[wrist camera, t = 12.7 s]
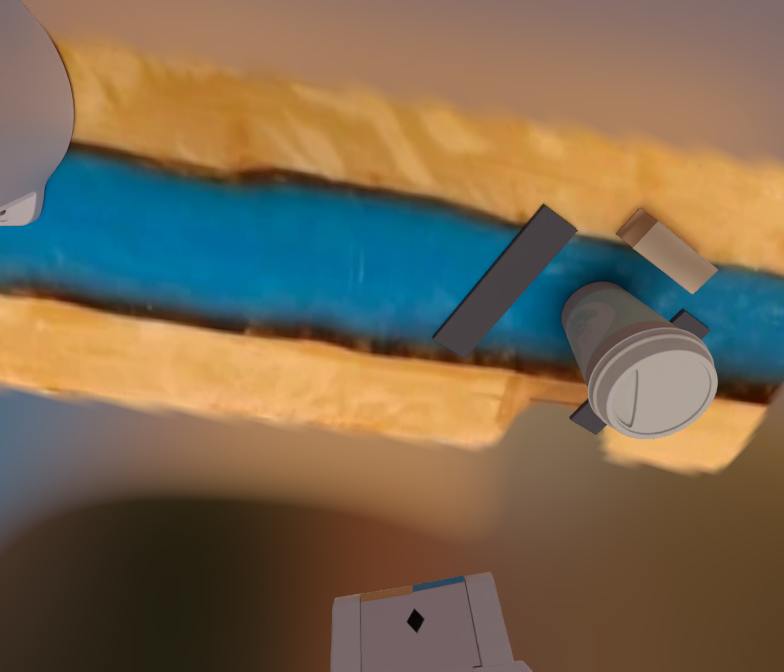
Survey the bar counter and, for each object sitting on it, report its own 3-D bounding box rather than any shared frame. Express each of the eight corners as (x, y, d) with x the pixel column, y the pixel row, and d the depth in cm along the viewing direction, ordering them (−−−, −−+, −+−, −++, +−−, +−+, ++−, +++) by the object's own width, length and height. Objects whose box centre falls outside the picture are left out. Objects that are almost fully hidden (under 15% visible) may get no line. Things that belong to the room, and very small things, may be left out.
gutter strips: (594, 432, 54) (595, 434, 54) (432, 337, 48) (433, 339, 47) (707, 328, 49) (710, 330, 49) (543, 204, 42) (545, 205, 42)
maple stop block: (673, 278, 46) (692, 294, 44) (616, 233, 44) (632, 248, 41) (697, 254, 45) (718, 269, 43) (640, 207, 43) (658, 220, 40)
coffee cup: (580, 250, 44) (650, 325, 34) (665, 287, 47) (754, 367, 36) (526, 336, 48) (573, 426, 38) (606, 365, 50) (671, 458, 40)
